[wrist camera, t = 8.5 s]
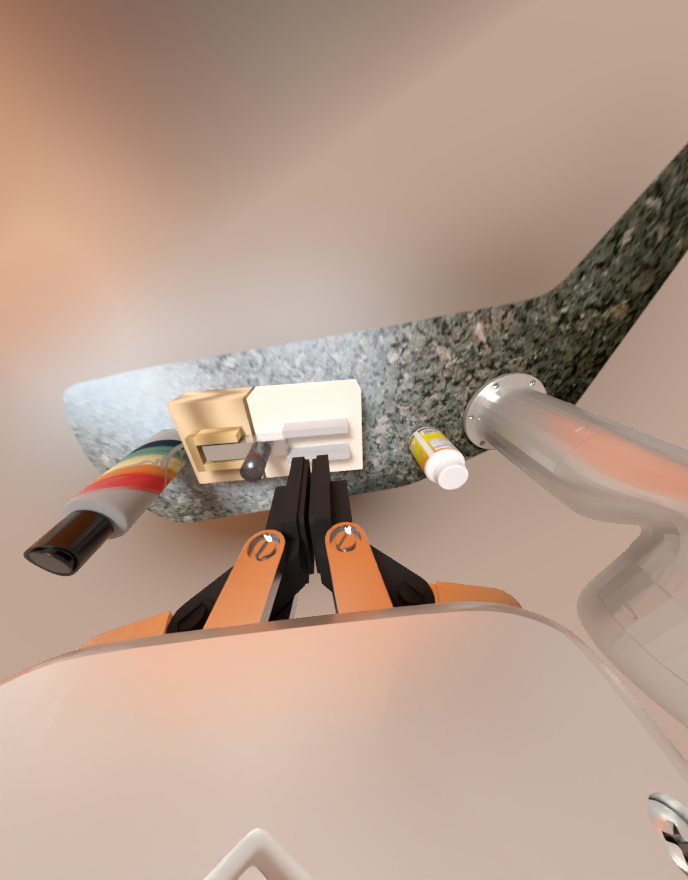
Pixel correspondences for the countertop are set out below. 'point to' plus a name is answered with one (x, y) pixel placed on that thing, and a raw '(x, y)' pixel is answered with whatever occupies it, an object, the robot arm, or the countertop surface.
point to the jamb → (212, 428)
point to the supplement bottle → (438, 458)
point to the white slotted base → (311, 422)
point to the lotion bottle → (109, 504)
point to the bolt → (249, 453)
